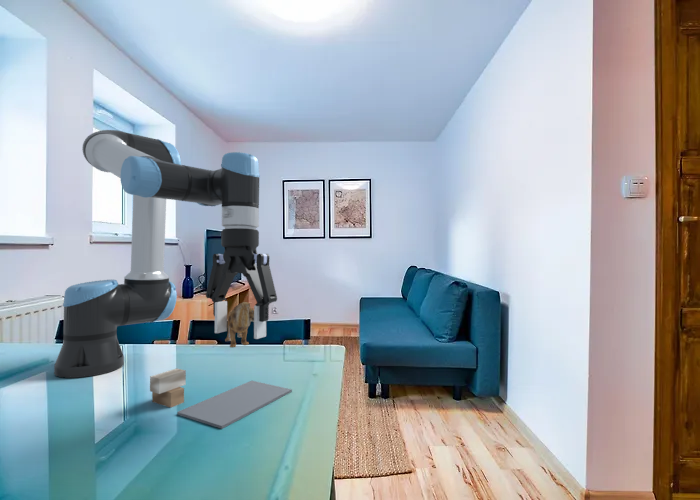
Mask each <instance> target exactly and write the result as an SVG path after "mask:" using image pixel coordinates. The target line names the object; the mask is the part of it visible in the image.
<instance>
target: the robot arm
mask: <svg viewBox="0 0 700 500" xmlns="http://www.w3.org/2000/svg"><path fill="white" fill-rule="evenodd" d="M81 151H82V154H83V157H84V159H85V160H86V162H87V163H88V164H90V166H91V167H93V168H95V169H96V170H98V171H100V172H104V173H111V174H113V175H114V176H116V177H117V178H120V185H121V186H122V189H123V190H124V191H123V192H125V193H127V194H129V195H132V218H131V219H132V221H131V222H132V223H131V224H132V226H131V254H130V255H131V256H130V271H129V272H128V273H127V274H126V275H125V276H124V277H123V278H124V279H123V280H124V281H123V282H124V283H122V284H119V282H118V280H116V279H103V280H101V279H100V280H94V281H93V280H92V281H86V282H80V283H76V284H73V285H70V286H68V287H66V289H65V291H64V295H63V296H64V297H63V303H62V307H63V342H62V346H61V348H60V351H59V353H58V356H57V357H56V358H57V359H56V361H55V363H54V366H53V369H54V370H53V375H54V374H55V375H56V376H55V375H54V376H55V377H57V376H59V377H58V378H63V377H65V379H66V378H67V379H68V378H70V379H71V378H73V379H74V378H85V377H92V376H97V375H98V376H99V375H102V374H107V373H110V372H113V371H116V370H118V369H121V368H122V367H124V363H125V362H124V361H125V357H124V352H123V351H122V347H121V346H120V343H119V340H118V335H117V331H118V329H117V328H118V327H121V326H127V325H128V326H129V325H136V324H144V323H155V322H157V321H158V322H159V321H164V320H166V319H168V318H169V317H170V316H171V315H172V313H173V312H174V310H175V307H176V304H177V299H178V297H177V296H178V293H177V290H176V289H177V288H176V286H175V284H174V282H172V281H170V276H169V275H168V274H167V273H166V272H165V245H166V241H165V240H166V216H167V213H166V212H167V200H173V201H179V202H180V201H181V202H188V203H196V204H198V205H199V206H202V207H216V206H219V205H221V226H222V227H223V228H224V229H222V230H221V236H220V237H221V239H220V240H221V241H220V244H221V246H222V247H223V248H224V252H223V253H213V254H212V267H211V272H210V275H209V280H208V284H207V288H206V293H205V298H206V299H210V300H211V302H213V303H212V304H213V306H212V307H213V313H212V314H213V317H214V334H220V333H224V332H228V327H227V322H228V301H227V294H228V291H229V290H230V288H231V286H232V283H233V281H234V280H235V279H234V278H235V277H236V276H237V275H238V274H242V275H243V276H244V277H245V278H246V281H247V283H248V286H249V288H250V289H251V292H252V294H253V297H254V299H255V301H256V304H254V306H253V310H254V322H253V339H255V340H259V339H262V338H265V337H267V322H268V320H269V310H270V309H269V308H270V307H269V306H270V304H272V303H275V302H277V301H278V296H277V292H276V291H277V290H276V287H275V284H274V280H273V275H272V271H271V268H270V254H269V253H258V251H257V248H258V247H259V245H260V232H259V230H258V228H259V227H260V206H259V205H260V178H261V175H260V166H259V165H260V164H259V160H258V158H257V157H256V156H255V155H253V154H251V153H246V152H240V151H239V152H235V151H234V152H228V153H225V154H224V155H223V156H222V159H221V164H220V167H221V168H219V169H216V170H213V169H212V170H210V169H205V168H199V167H194V166H189V165H185V164H184V165H183V164H182V160H181V156H180V153H179V151H178V149H177V147H176V146H175V145H174V144H172V143H171V142H167V141H164V140H161V139H159V138H157V139H156V138H152V137H148V136H143V135H138V134H135V133H134V134H133V133H131V132H130V133H129V132H125V131H123V130H122V131H121V130H115V129H103V130H99V131H95V132H92V133H91V134H89V135H88V136H87V137H86V138H85V140H83V143H82V150H81Z"/></svg>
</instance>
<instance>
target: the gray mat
mask: <svg viewBox="0 0 700 500" xmlns="http://www.w3.org/2000/svg"><path fill="white" fill-rule="evenodd" d="M292 391H293V389H291V388H288V387H282V386H278V385H273V384H270V383H265V382H261V381H255V380H249V381H247V382H244V383H242V384H240V385H237V386H235V387H233V388H230V389H228V390H225V391H223V392H221V393H219V394H217V395H214V396H211V397H209V398H207V399H205V400H202V401H199V402H197V403H196V404H193V405H190V406H188V407H186V408H183V409H181V410H178V411H177V413H176V414H177V415H178V416H180V417H184V418H187V419H190V420H194V421H196V422H200V423H202V424H205V425H208V426H212V427H215V428H218V429H221V430H222V429H225V428H226V427H228V426H230V425H232V424H234V423H235V422H238V421H239V420H242V419H243V418H245V417H247V416H249V415H251V414H252V413H254V412H256V411H258V410H260V409H263V408H264V407H266V406H268V405H269V404H271V403H273V402H275V401H276V400H279V399H280V398H283V397H284V396H286V395H289V394H290V393H293V392H292Z"/></svg>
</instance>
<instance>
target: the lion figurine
mask: <svg viewBox="0 0 700 500" xmlns="http://www.w3.org/2000/svg"><path fill="white" fill-rule="evenodd" d="M251 322H253V323H254V307H252V306H251V303H250V302H247V301H246V302H245V301H243V302H241V303H238V305H235V306H234V307H233V309H231V310H229V312H228V314H227V336H226V338H225V339H224V341H225V342H230V344H229V348H236V347H237V342H236V335H237V338H238V339H239V338H241V341H240V343H241V344H242V346H248V345H249V344H250V343H249V341H247V334H248V329H249V327H250V325H251ZM236 333H237V334H236Z"/></svg>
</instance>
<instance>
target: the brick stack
mask: <svg viewBox="0 0 700 500" xmlns="http://www.w3.org/2000/svg"><path fill="white" fill-rule="evenodd" d="M186 372H187V371H186V370H185V369H180V368H174V369H170V370H167V371H163V372H160V373H157V374H154V375H151V376H150V377H149V391H150V392H151V393H152V395H151V397H152V398H151V399H152V400H151V401H152V403H154V404H155V403H156V404H158V405H162V406H165V407H168V408H174V407H176V406H179V405H181V404H183V403H185V388H184V387H183V386H186V385H187V384H186V379H187V377H186V376H187V375H186Z"/></svg>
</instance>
